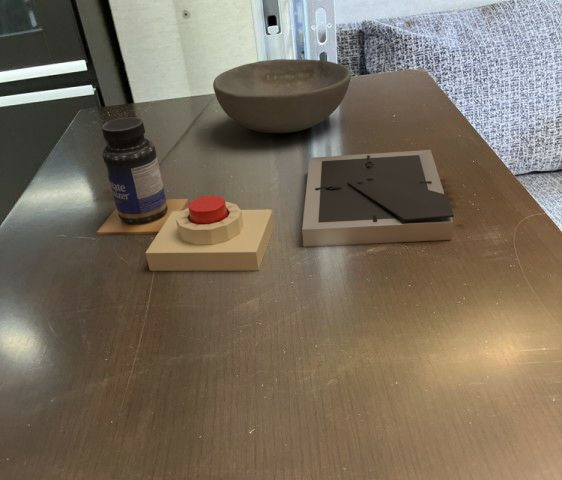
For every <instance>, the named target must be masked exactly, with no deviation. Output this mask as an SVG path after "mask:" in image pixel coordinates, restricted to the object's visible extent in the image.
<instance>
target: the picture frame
mask: <svg viewBox="0 0 562 480" xmlns="http://www.w3.org/2000/svg"><path fill="white" fill-rule="evenodd" d="M454 217H455V216H454V211H453V208H452V205H451V202H450V199H449V196H448V194H446V193H445V191H444V188H443V184H442V182H441V178H440V175H439V171H438V168H437V166H436V162H435V159H434V156H433V153H432V150H431V149H423V150H408V151H407V150H406V151H394V152H393V151H389V152H374V153H361V154H347V155H345V154H343V155H329V156H315V157H309V158H308V168H307V177H306V189H305V197H304V208H303V217H302V228H301V233H302V235H301V236H302V245H303V248H312V247H333V246H353V245H354V246H355V245H370V244H371V245H373V244H375V245H376V244H392V243H393V244H394V243H397V244H398V243H414V242H435V241H437V242H438V241H451V240H452V239H453V230H454V229H453V228H454V221H453V218H454Z"/></svg>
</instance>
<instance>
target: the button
mask: <svg viewBox="0 0 562 480" xmlns="http://www.w3.org/2000/svg"><path fill="white" fill-rule="evenodd" d="M226 202H227V201H226V200H225V198H223V197H221V196H219V195H205V196H199V197H197V198H195V199H193V200H191V201H190V202H188V204H187V208H188V209H189V214H190V219H191V222H192V223H194V224H197V225H206V224H212V223H216V222H220V221H222V220H224V219H225V218H227V216H228V215H227V209H226Z"/></svg>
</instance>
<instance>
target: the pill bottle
mask: <svg viewBox="0 0 562 480" xmlns="http://www.w3.org/2000/svg"><path fill="white" fill-rule="evenodd" d="M101 131H102V135H103V138H104V140H105V141H106V142H107V145H106V146H105V147H104V149H103V151H102V158H103V161H104V162H103V163H104V165H105V170H106V174H107V177H108V182H109V185H110V188H111V193H112V196H113V200H114V203H115V207H116V208H117V211H118V215H119V217H120V219H121V220H122V221H124V222H126V223H131V224H144V223H148V222H152V221H154V220H157V219H159V218H161V217H162V216H163V215H164V214H165V213H166V212H167V209H168V208H167V202H166V199H167V198H166V193H165V188H164V184H163V183H164V182H163V179H162V175H161V169H160V164H159V161H158V155H157V150H156V147H155V145H154V143H153V142H152V141H151V140H149V139H147V138H145V134H146V128H145V125H144V121H143V119H142V118H139V117H133V116H131V117H129V116H127V117H119V118H116V119H112V120H109V121H107V122H105V123H103V124H102V126H101ZM116 208H115V209H116Z"/></svg>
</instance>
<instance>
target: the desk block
mask: <svg viewBox="0 0 562 480" xmlns="http://www.w3.org/2000/svg"><path fill="white" fill-rule="evenodd" d="M225 202H226V209H227V215H228V216H227V218H225V219H224V220H222V221H220V222H216V223H212V224H206V225H197V224H194V223H192V222H191V219H190V214H189V209H188V207H187V208H184V210H183V211H173V212H172V213H171V214H170V216H169V217H168V219H167V221H166V222H165V224H164V225H163V227H162V228H161V230H160V231H159V233H158V234H156V236H155V238H154V239H153V240H152V242H151V243H150V245H149V246H148V248H147V249H146V251H145V253H144V254H145V258H146V261H147V265H148V270H149V271H150V272H158V271H159V272H174V271H176V272H177V271H178V272H179V271H181V272H183V271H184V272H186V271H187V272H195V271H196V272H197V271H198V272H201V271H202V272H203V271H204V272H205V271H206V272H207V271H209V272H210V271H213V272H214V271H216V272H218V271H219V272H221V271H227V272H230V271H233V272H235V271H237V272H238V271H247V272H248V271H251V272H252V271H254V272H255V271H259V270H260V268H261V265H262V262H263V259H264V257H265V254H266V251H267V249H268V246H269V244H270V240H271V237H272V234H273V232H274V229H275V217H274V210H273V209H271V208H269V209H241V208H240V207H239V206H238V205H237V204H236V203H233V202H229V201H225Z"/></svg>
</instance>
